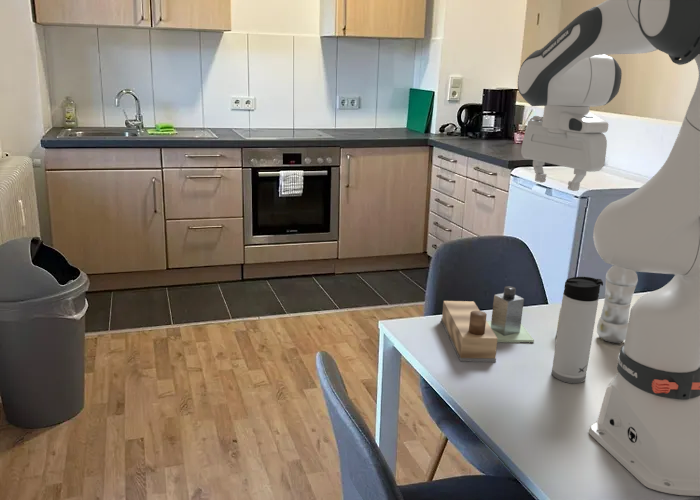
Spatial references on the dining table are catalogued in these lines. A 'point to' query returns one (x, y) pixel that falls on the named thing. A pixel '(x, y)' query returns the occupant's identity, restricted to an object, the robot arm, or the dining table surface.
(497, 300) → the lever cap
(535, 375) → the dining table surface
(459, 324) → the plane body
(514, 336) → the felt mat
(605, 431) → the robot arm
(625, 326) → the plastic bottle
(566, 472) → the dining table surface
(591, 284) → the travel mug
